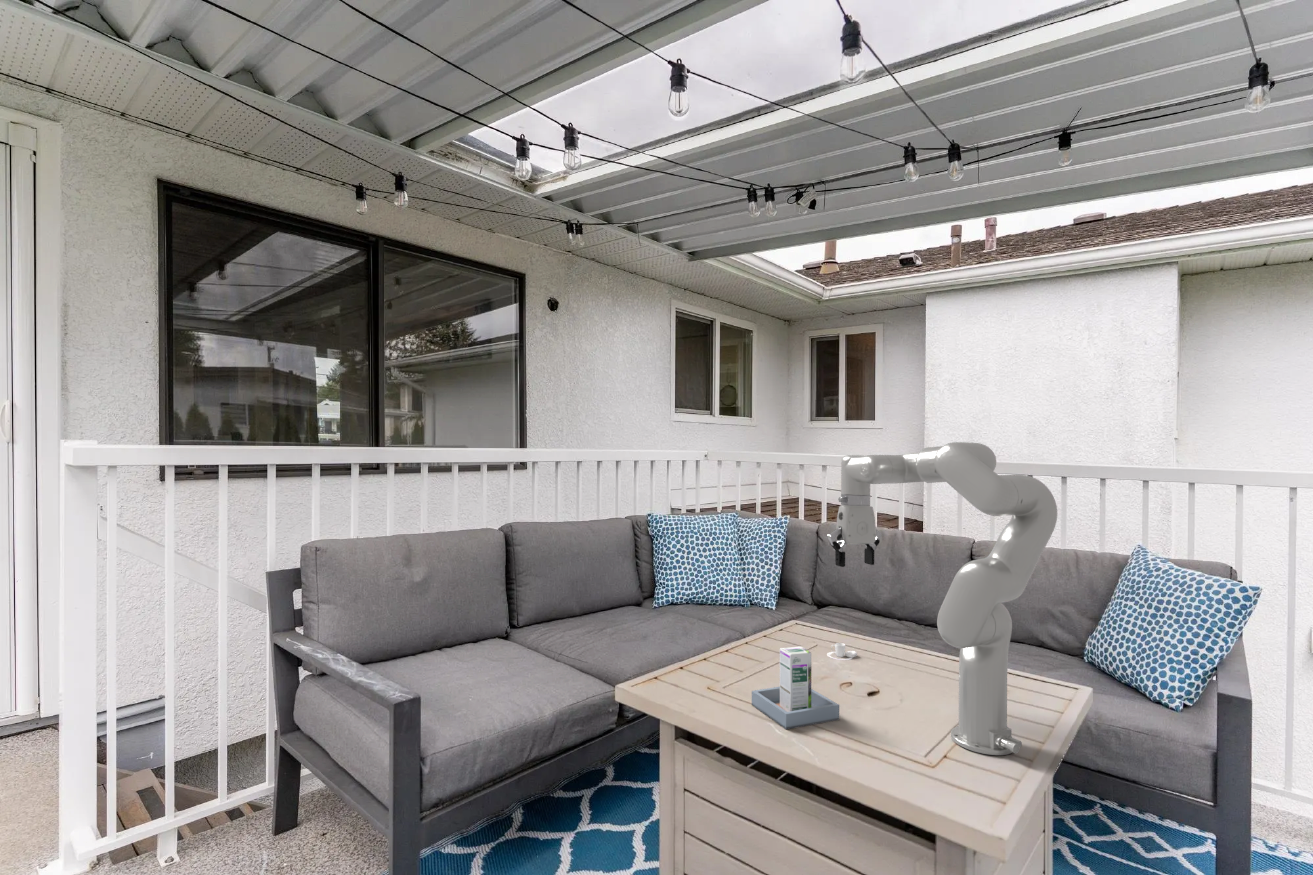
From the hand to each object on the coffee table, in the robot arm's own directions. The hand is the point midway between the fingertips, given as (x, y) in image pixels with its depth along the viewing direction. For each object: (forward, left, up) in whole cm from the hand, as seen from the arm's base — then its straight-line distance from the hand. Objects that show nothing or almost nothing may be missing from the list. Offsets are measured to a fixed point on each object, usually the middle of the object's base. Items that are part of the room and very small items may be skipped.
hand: (854, 565), depth 171 cm
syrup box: (-7, +23, -33) cm, 41 cm away
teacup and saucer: (+21, -15, -34) cm, 43 cm away
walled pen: (-7, +23, -33) cm, 41 cm away
